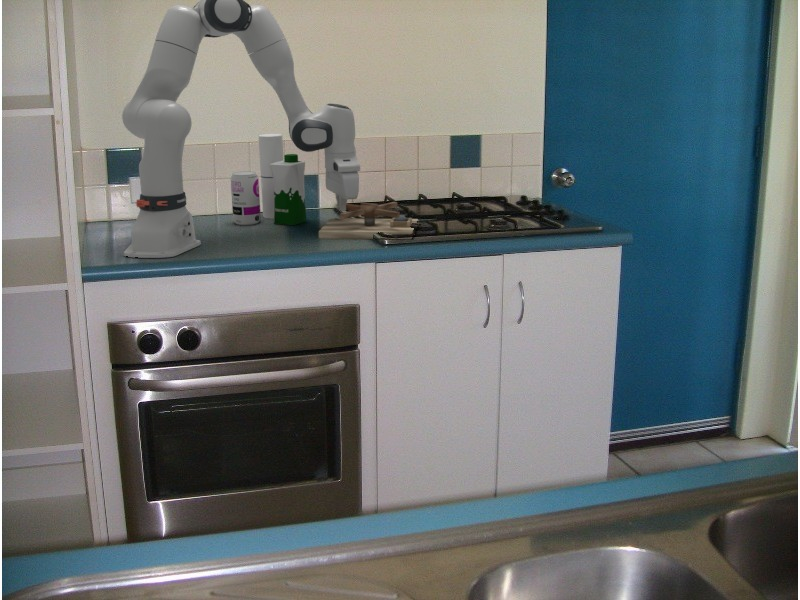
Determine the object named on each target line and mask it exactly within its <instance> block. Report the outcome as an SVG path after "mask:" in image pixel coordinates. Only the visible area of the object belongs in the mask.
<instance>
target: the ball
mask: <svg viewBox="0 0 800 600" xmlns="http://www.w3.org/2000/svg"><path fill="white" fill-rule="evenodd" d="M406 218H407V217H406V216H405V215H403V214H400V217H398V218H396V221H406Z"/></svg>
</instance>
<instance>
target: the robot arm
mask: <svg viewBox="0 0 800 600" xmlns="http://www.w3.org/2000/svg"><path fill="white" fill-rule="evenodd" d="M231 34H232V35H234V36H236V37H238V38H239V40H240V41H241V42H242V43H243V45H244V47H245V48H244V49H245V51H246V52H247V55H248V57H249V58H250V61H251V62H252V65H253V66H254V68H255V69H256V70H257V72H258V73H259V75H260V76H261V77H262V78H263V80H265V81H266V82H267V83H268V84H269V85H270V86H271V87H272V89H273V91H275V94H276V95H277V97H278V99H279V101H280V103H281V105H282V107H283V109H284V112H285V114H286V117H287V118H288V134H289V138H290V139H291V141H292V143H293V144H294V146H295V147H297V149H298V150H300V151H303V152H305V153H313V152H316V151H319V150H324V168H325V188H326V190H327V191H330V192H331V193H333V194H334V195H335V200H336V208H337V210H339V211H340V212H346V210H347V209H346V203H347V202H348V200H356V199H358V196H359V192H360V191H359V189H360V187H359V186H360V177H359V175H360V174H359V172H360V171H361V164H360V162H359V161H358V159H357V154H356V152H357V151H356V147H355V139H356V124H355V122H356V121H355V116H354V113H353V112H354V111H353V110H352V109H351V108H350V107H349V106H347V105H344V104H343V105H342V104H338V103H326V104H325V105H324V106H323V107H321V109H318V110H317V111H315V112H312V111H311V110H310V109H309V108H308V107H309V106H308V105H307V104H306V102H305V99H304V97H303V95H302V93H301V91H300V89H299V86H298V84H297V81H296V78H295V68H294V67H295V66H294V59H293V55H292V51H291V49H290V46H289V45H290V44H289V42H288V41H287V39H286V36H285V34H284V32H283V30H282V29H281V27H280V25H279V23H278V21H277V20H276V18H275V17H274V15H273V14H272V12H271V10H269V8H268V7H266V6H265V5H262V4H252V5H250V4H249V3H247V2H246V1H245V0H200V1H198V2H197V3H196V4H195V5H194V6H193V7H190V6H188V5H183V4H177V5H172V6H171V7H169V8H168V9H167V11H166V13H165V15H164V16H163V19H162V21H161V23H160V25H159V28H158V31H157V34H156V37H155V41H154V44H153V47H152V51H151V54H150V57H149V61H148V65H147V67H146V71H145V73H144V74H143V77H142V79H141V81H140V82H139V85H138V86H137V88H136V90H135V92H134V95H133V96H132V97H131V100H129V102H128V103H127V104H126V105H125V106H124V108H123V110H122V114H121V118H122V123H123V125H124V127H125V129H126V130H127V131H129V132H130V133H131V134H132V135H133V136H135V137H137V138H139V139H142V140H144V145H143V146H144V147H143V152H142V158H141V160H140V161H139V164H138V174H139V184H140V193H139V199H136V202H135V205H136V208H138V209H140V210H139V212H138V215H137V217H136V219H135V222H134V225H133V227H132V229H131V243H130V244H129V245H128V246H127V248H126V249H125V250H124V251H123V257H126V256H128V258H135V257H138V258H137V259H139V258H141V259H150V258H151V259H161V258H162V259H163V258H164V259H165V258H172V257H176V256H179V255H181V254H183V253H185V252H187V251H191V250H192V249H194V248H197V247H199V246H201V245H202V243H201V240H199V239H197V237H196V232H195V224H194V219H193V218H194V217H193V214H192V213H191V212H190V211H189V210H188V208H187V196H186V192H185V191H184V180H183V167H182V166H183V163H182V162H183V153H184V149H185V144H186V143H185V142H186V139H187V137H188V136H189V133H190V132H191V128H192V124H193V123H192V117H191V114H190V112H189V111H188V110H187V109H186V108H185V107H184V106H183V105H181V104H179V103H178V102H177V101H178V99H179V97H180V95H181V94H182V92H183V91H184V90H185V88H187V86H188V85H189V84H190V82H191V77H192V75H193V70H194V67H195V63H196V60H197V57H198V56H197V55H198V53H199V49H200V48H199V47H200V44H201V42H202V40H203V39H204V38H219V37H225V36H228V35H231ZM347 204H348V203H347Z"/></svg>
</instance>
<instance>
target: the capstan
mask: <svg viewBox="0 0 800 600" xmlns="http://www.w3.org/2000/svg"><path fill="white" fill-rule="evenodd" d="M394 208H395V209H396V208H398V202H397V201H391V202H387V203H382V204H378V203H373V202H372V203H369V202H368V203H367V202H360V205H358V204H353V203H346V210H348V211H343V212H341V213H340V212H339V218H340V219H346V218H356V217H359V216H361V218H364V217H375V218H376V217H378V216H383V217H389V218H398V217H400V215H401V213H400V211H394V210H390V209H394Z"/></svg>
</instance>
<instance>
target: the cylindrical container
mask: <svg viewBox="0 0 800 600" xmlns="http://www.w3.org/2000/svg"><path fill="white" fill-rule="evenodd" d="M283 142H284V141H283V134H281V133H263V134H259V135H258V148H259V149H258V150H259V165H260V183H261V187H260V188H261V200H262V201H261V203H262V216H263V218H264V219H270V220H271V219H273V220H274V208H275V206H274V187H273V176H272V172H271V168H270V164H273V163H275V162H280V161H284V146H283V145H284V144H283Z"/></svg>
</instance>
